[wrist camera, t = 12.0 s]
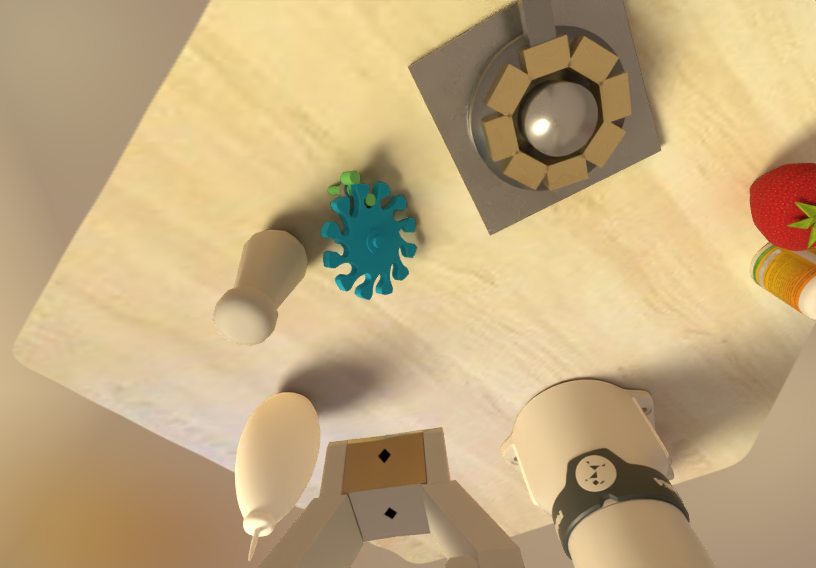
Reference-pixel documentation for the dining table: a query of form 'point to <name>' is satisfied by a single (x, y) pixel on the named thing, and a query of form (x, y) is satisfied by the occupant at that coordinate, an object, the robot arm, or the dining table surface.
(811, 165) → the strawberry
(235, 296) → the salt shaker
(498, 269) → the dining table surface
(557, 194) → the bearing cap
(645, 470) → the robot arm
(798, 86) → the dining table surface
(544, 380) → the dining table surface
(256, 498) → the white air blower bulb
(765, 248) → the supplement bottle
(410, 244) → the teal virus model
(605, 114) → the ring nut
